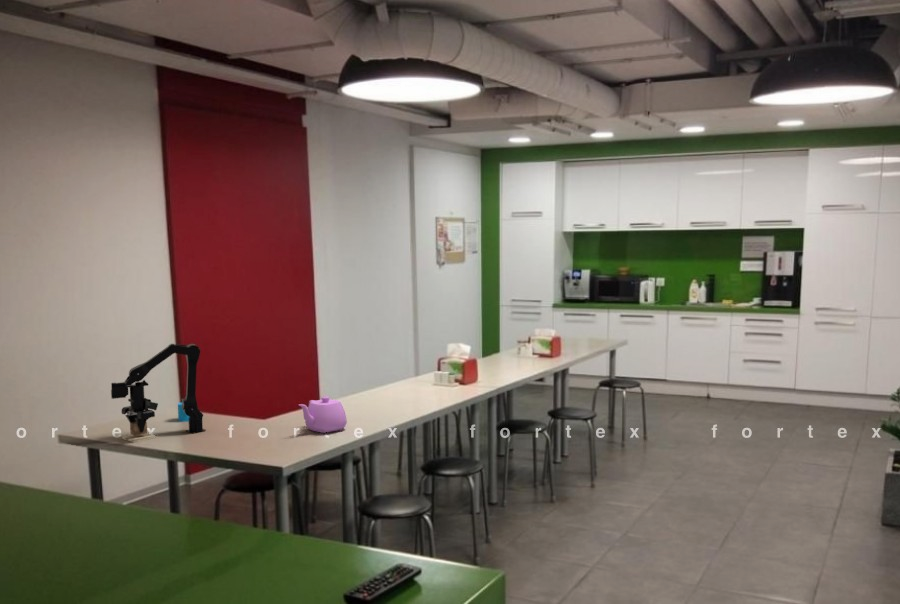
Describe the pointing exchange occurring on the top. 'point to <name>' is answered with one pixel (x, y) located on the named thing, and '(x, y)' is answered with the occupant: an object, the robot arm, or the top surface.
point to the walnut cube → (137, 429)
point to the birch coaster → (138, 437)
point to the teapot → (324, 415)
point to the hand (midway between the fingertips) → (138, 431)
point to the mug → (182, 414)
